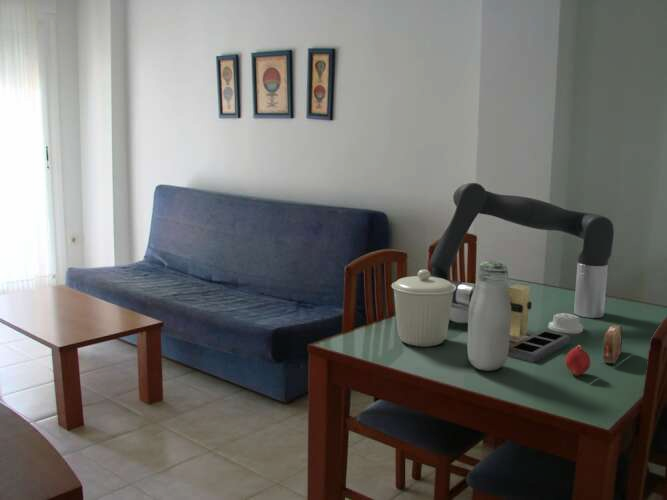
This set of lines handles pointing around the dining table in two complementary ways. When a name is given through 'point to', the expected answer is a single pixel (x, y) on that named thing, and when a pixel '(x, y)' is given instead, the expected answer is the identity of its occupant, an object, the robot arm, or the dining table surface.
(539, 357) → the compartment tray
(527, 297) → the brass block
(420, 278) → the canister
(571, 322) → the mechanical component
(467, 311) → the ramekin
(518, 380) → the dining table surface
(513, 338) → the tile
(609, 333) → the tin
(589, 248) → the robot arm
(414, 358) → the dining table surface
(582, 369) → the pomegranate
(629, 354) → the dining table surface
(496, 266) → the glass bottle
